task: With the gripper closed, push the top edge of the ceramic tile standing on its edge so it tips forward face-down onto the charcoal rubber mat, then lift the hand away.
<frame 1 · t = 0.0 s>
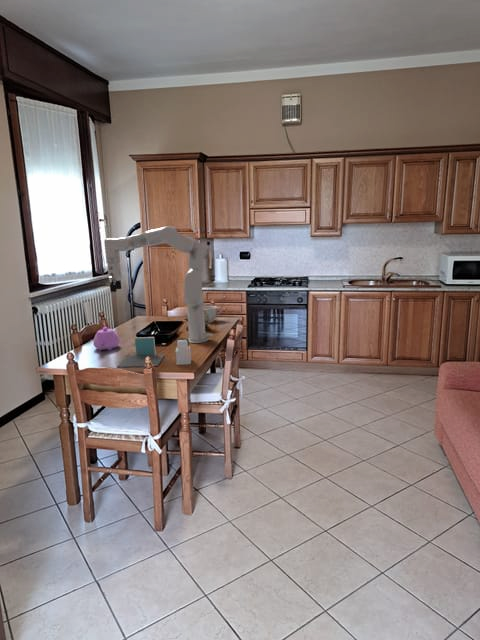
hand: (116, 290, 254), 31 cm above the table, tool pointing down, fingers open, 9 cm apart
tile: (146, 355, 234), on the table
medicine bottle: (183, 362, 220), on the table
teacup: (211, 321, 306), on the table
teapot: (106, 349, 249), on the table
mat: (141, 361, 224), on the table
owl figurine: (197, 330, 285), on the table
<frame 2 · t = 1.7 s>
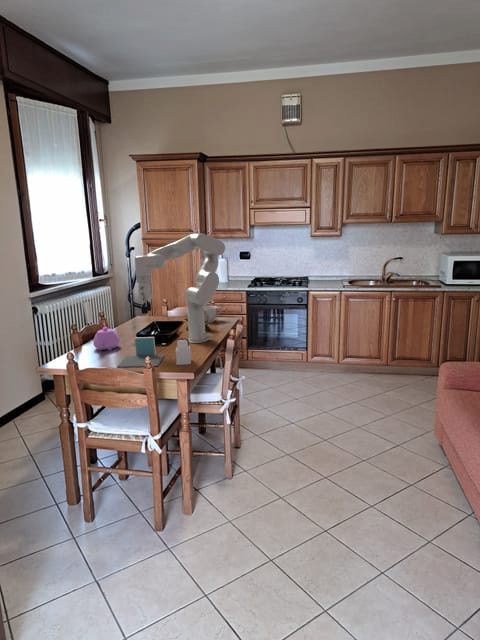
hand: (146, 311, 237), 22 cm above the table, tool pointing down, fingers open, 6 cm apart
nothing on the table moved.
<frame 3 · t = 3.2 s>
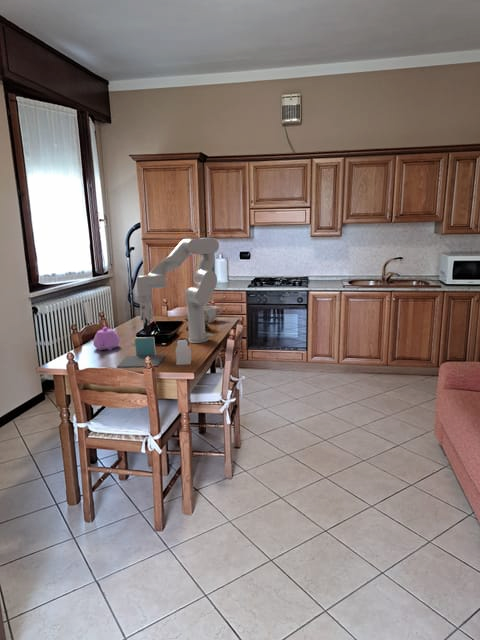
hand: (147, 332, 240), 11 cm above the table, tool pointing down, fingers closed
nothing on the table moved.
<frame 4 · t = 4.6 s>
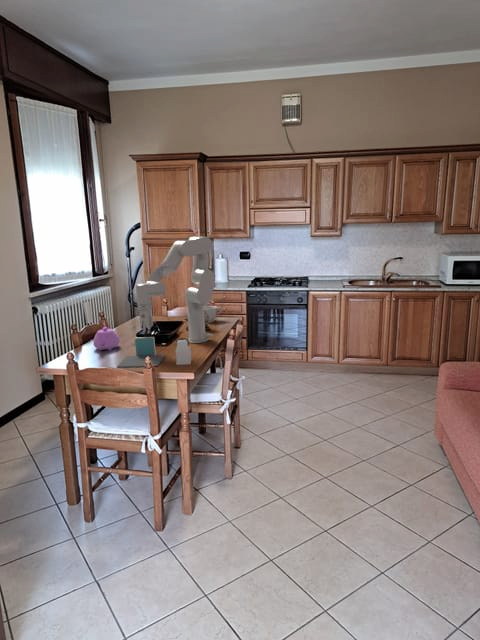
hand: (147, 340, 238), 7 cm above the table, tool pointing down, fingers closed
nothing on the table moved.
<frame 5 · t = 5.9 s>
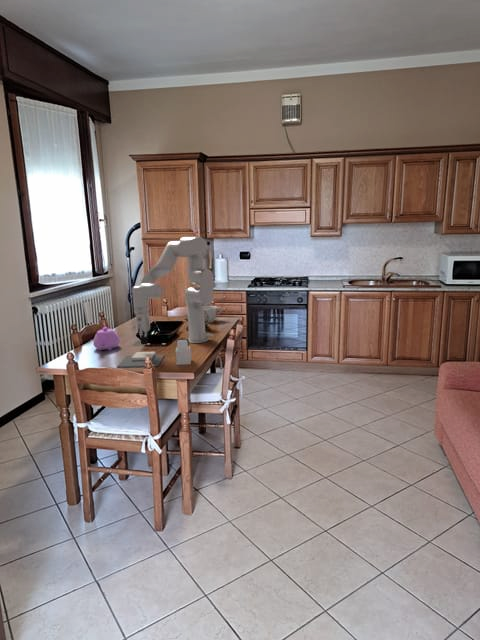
hand: (144, 343, 231), 7 cm above the table, tool pointing down, fingers closed
tile: (145, 352, 233), point 1 cm above the table, tilted 90°, touching mat
everything else where it was.
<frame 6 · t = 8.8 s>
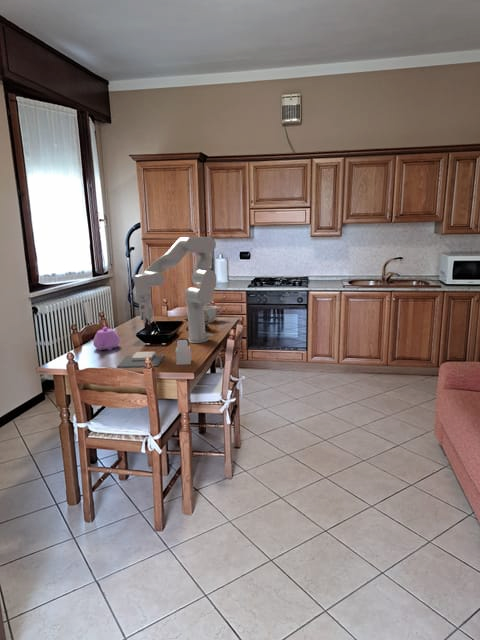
hand: (148, 331, 237), 12 cm above the table, tool pointing down, fingers closed
nothing on the table moved.
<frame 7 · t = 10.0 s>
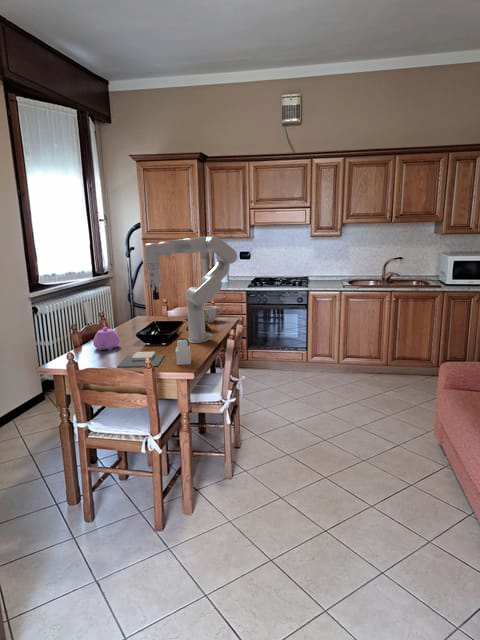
hand: (156, 299, 244), 27 cm above the table, tool pointing down, fingers closed
nothing on the table moved.
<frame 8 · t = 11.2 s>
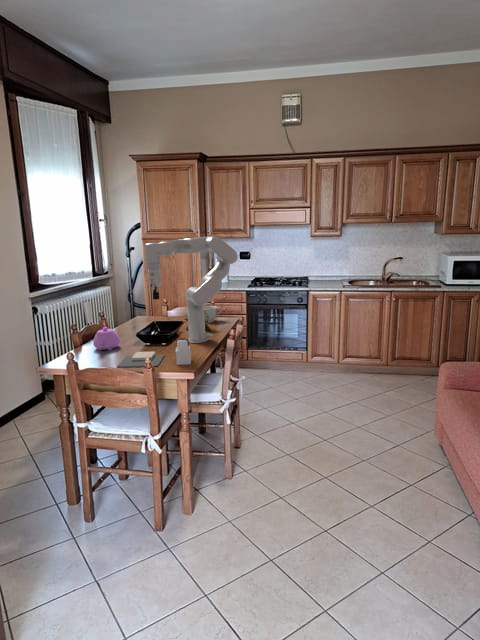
hand: (156, 299, 244), 27 cm above the table, tool pointing down, fingers closed
nothing on the table moved.
at the end: tile tilted 90°; tile touching mat; tile point 1.5 cm above the table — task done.
